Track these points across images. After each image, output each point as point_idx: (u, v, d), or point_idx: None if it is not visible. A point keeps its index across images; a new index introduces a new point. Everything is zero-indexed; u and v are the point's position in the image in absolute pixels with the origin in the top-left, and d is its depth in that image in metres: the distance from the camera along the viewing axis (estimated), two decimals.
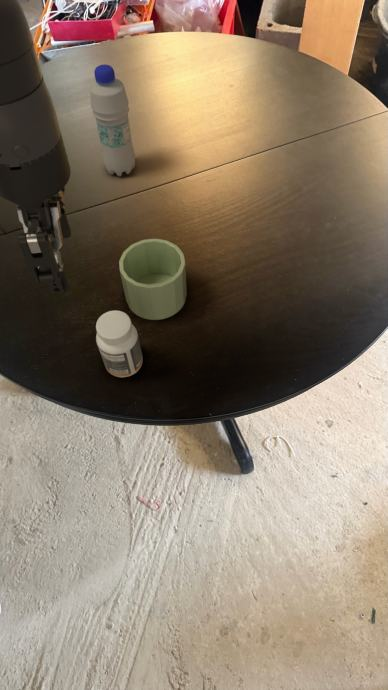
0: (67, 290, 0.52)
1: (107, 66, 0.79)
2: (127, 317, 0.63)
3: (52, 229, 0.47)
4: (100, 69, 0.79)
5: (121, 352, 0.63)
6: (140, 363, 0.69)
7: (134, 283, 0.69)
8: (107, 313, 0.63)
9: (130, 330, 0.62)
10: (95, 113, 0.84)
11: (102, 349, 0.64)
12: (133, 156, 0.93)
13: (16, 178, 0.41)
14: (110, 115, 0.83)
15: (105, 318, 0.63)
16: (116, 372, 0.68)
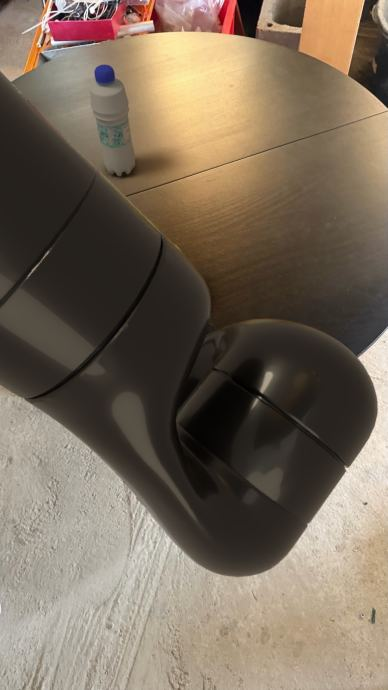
0: None
1: (107, 66, 0.79)
2: None
3: None
4: (100, 69, 0.79)
5: None
6: None
7: None
8: None
9: None
10: (95, 113, 0.84)
11: None
12: (133, 156, 0.93)
13: None
14: (110, 115, 0.83)
15: None
16: None
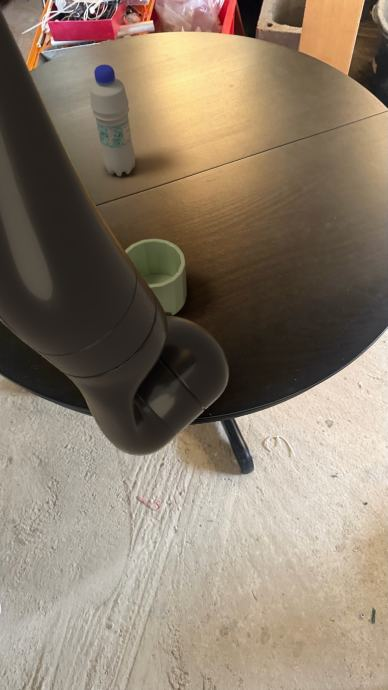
0: None
1: (107, 66, 0.79)
2: None
3: None
4: (100, 69, 0.79)
5: None
6: None
7: None
8: None
9: None
10: (95, 113, 0.84)
11: None
12: (133, 156, 0.93)
13: None
14: (110, 115, 0.83)
15: None
16: None
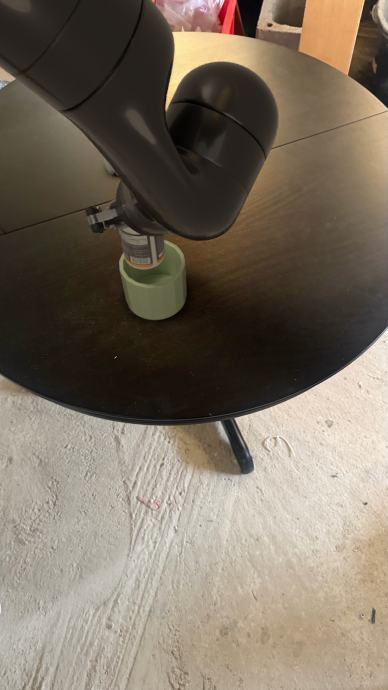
0: None
1: None
2: None
3: None
4: None
5: None
6: (162, 254, 0.65)
7: (134, 283, 0.69)
8: None
9: None
10: None
11: (124, 229, 0.59)
12: None
13: (119, 204, 0.47)
14: None
15: None
16: (137, 261, 0.63)
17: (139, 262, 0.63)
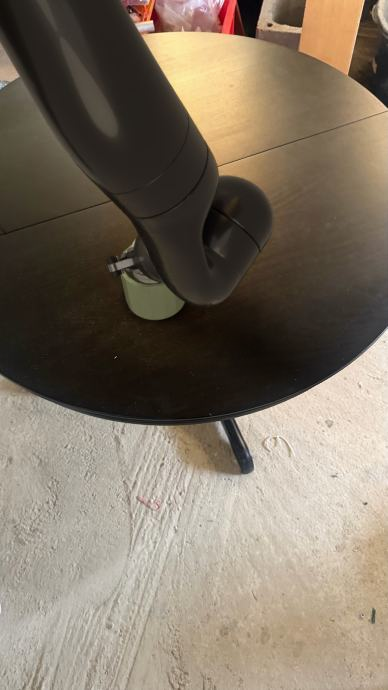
0: None
1: None
2: None
3: None
4: None
5: None
6: None
7: (134, 283, 0.69)
8: None
9: None
10: None
11: None
12: None
13: (137, 258, 0.55)
14: None
15: None
16: None
17: None
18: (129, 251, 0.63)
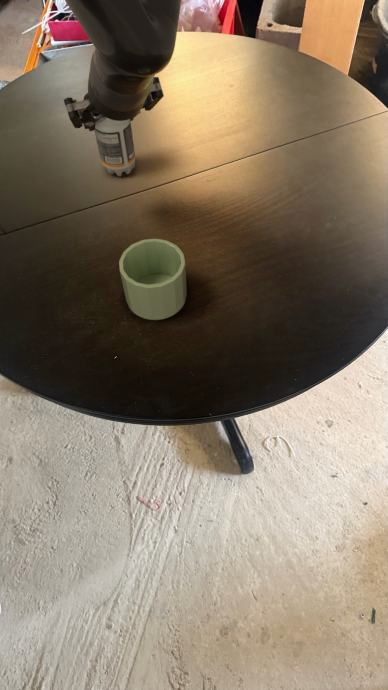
0: (89, 130, 0.74)
1: None
2: None
3: (98, 113, 0.66)
4: None
5: (115, 130, 0.71)
6: (132, 157, 0.77)
7: (134, 283, 0.69)
8: None
9: None
10: None
11: (98, 128, 0.72)
12: None
13: (89, 88, 0.59)
14: None
15: None
16: (110, 161, 0.76)
17: (112, 162, 0.76)
18: None
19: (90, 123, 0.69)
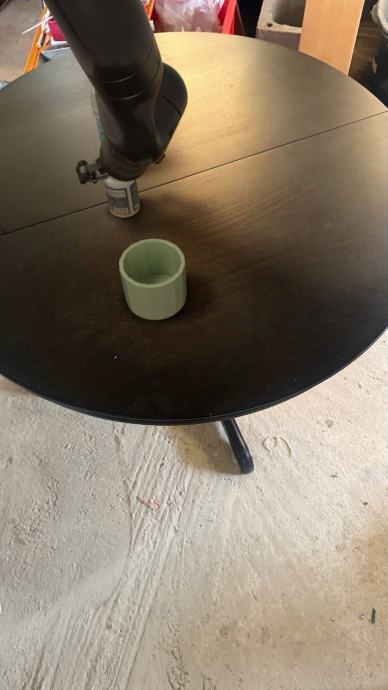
0: None
1: None
2: None
3: None
4: None
5: (123, 187, 0.82)
6: (137, 206, 0.88)
7: (134, 283, 0.69)
8: None
9: None
10: (95, 113, 0.84)
11: (108, 185, 0.82)
12: None
13: (101, 157, 0.69)
14: None
15: None
16: (118, 211, 0.86)
17: (120, 211, 0.86)
18: (95, 161, 0.76)
19: (94, 180, 0.78)
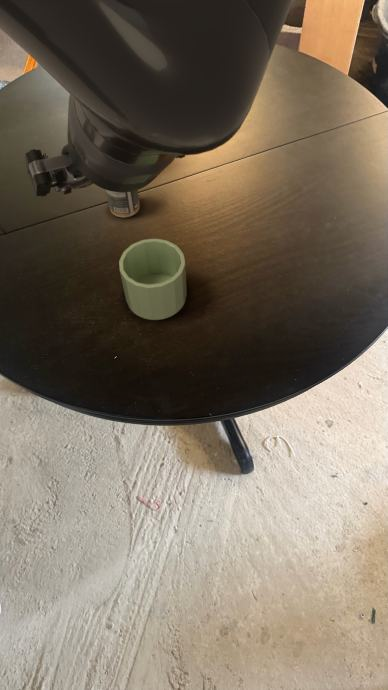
0: (63, 192, 0.46)
1: None
2: None
3: None
4: None
5: None
6: (137, 206, 0.88)
7: (134, 283, 0.69)
8: None
9: None
10: None
11: None
12: None
13: (70, 141, 0.32)
14: None
15: None
16: (118, 211, 0.86)
17: (120, 211, 0.86)
18: None
19: (62, 188, 0.42)
